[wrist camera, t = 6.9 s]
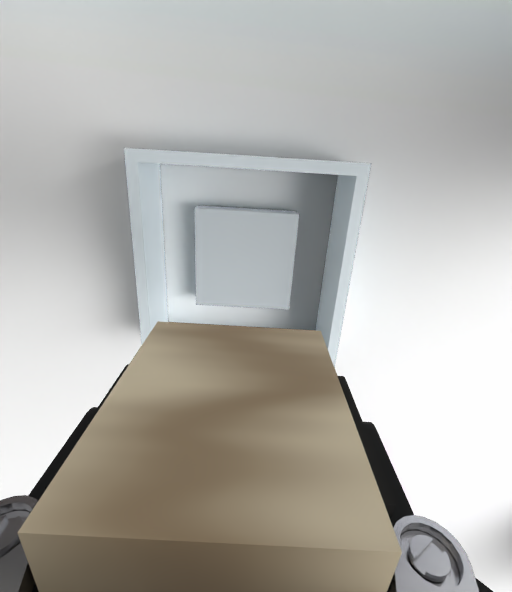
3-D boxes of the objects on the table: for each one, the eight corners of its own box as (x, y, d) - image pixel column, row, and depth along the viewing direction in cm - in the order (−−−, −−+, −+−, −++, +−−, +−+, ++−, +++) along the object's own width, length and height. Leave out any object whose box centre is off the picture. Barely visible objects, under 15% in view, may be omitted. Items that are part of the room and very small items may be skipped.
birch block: (320, 330, 10) (401, 551, 4) (302, 450, 12) (341, 712, 6) (157, 321, 10) (17, 531, 4) (166, 443, 12) (78, 700, 6)
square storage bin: (349, 164, 25) (371, 163, 20) (322, 338, 30) (334, 369, 26) (149, 151, 24) (123, 147, 20) (160, 330, 30) (143, 359, 26)
